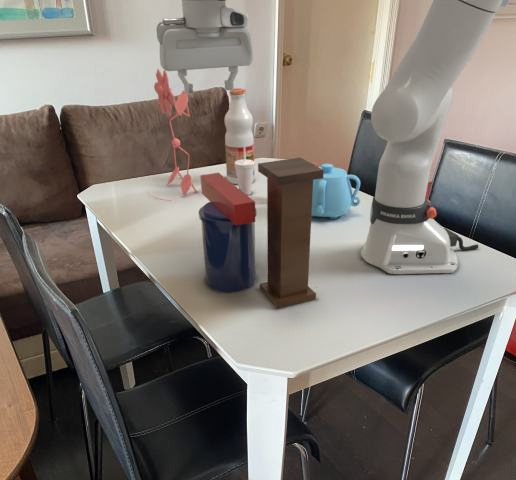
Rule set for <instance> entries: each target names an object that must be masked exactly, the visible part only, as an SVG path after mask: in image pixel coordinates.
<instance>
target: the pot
mask: <svg viewBox="0 0 516 480" xmlns="http://www.w3.org/2000/svg"><path fill="white" fill-rule="evenodd" d="M256 217H257V208H256V207H255V218H256ZM198 219H199V221H201V222H200V223H201V235H202V246H203V247H202V248H203V257H204V258H203V259H204V270H205V282H206V285H207V286H208V287H209V288H211V289H213V290H214V291H218V292H223V293H237V292H241V291H244V290H248V289H249V288H252V286H254V285H255V283H256V281H257V277H256V275H257V272H256V270H257V269H256V221H255V222H252V223H246V224H241V225H234V224H233V223H232V222H231V221H230V220H229V219H228V218H227V217H226V216H225V215H224V214H223V213H222V212H221V211H220V210H219V209H218V208H217V207H215V206H214V205H213V204H212V203H211V202H210V201H208V202H207V203H205V204H204V205H202V207H200V208H199V210H198Z"/></svg>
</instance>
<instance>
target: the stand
mask: <svg viewBox="0 0 516 480" xmlns="http://www.w3.org/2000/svg"><path fill="white" fill-rule="evenodd" d="M313 164H314V163H312V162H310V161H308V160H306V159H304V158H302V157H294V158H286V159H280V160H279V159H278V160H272V161H266V162H258V163H257V172H258V173H260V174H261V175H262V176H264V177H266V182H267V183H266V188H267V189H266V190H267V191H266V193H267V194H266V196H267V197H266V200H267V201H266V202H267V204H266V206H267V209H266V211H267V212H266V213H267V214H266V218H267V219H266V220H267V221H266V224H267V227H266V228H267V230H266V232H267V233H266V235H267V237H266V238H267V245H266V246H267V252H266V253H267V254H266V255H267V258H266V259H267V281H265V282H260V283H259V291H260V292H261V293H262V294H263V295H264V297H266V298H267V300H268V301H269V302H270V303H271V304H272V305H273V306H274V307H275V308H276V309H277V310H279V309H283V308H287V307H291V306H295V305H299V304H304V303H307V302H312V301H315V300H316V299H317V292H315V291H314V290H313V289H312V288H311V287H310V286H309V275H310V273H309V270H310V254H311V253H310V251H311V235H312V234H311V233H312V232H311V230H312V217H311V215H312V195H313V180H315V179H321V178H323V173H324V170H323V169H321V168H319V167H320V166H318V165H317V166H318V167H317V166H315V165H313Z"/></svg>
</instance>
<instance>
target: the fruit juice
mask: <svg viewBox="0 0 516 480" xmlns="http://www.w3.org/2000/svg"><path fill="white" fill-rule="evenodd" d="M246 91H247V90H246V89H245V88H233V90H229V95H230V103H229V108H228V110H227V112H226V114H225V115H224V126H225V130H226V132H225V135H224V148H225V167H226V168H225V169H226V179H227V180H228V181H230V182H231V183H232V184H233V185H238V179H237V173H236V167H235V166H234V165H235V161H237V160H243V159H244V147H245V152H246V159H247V160H253V161H254V162H255V137H254V133H253V125H254V117H253V115H252V113H251V111H250V110H249V108H248V105H247V103H246V96H247V95H246V94H247V92H246ZM255 175H256V174H255V170H254V171H253V181H252V183H253V182H254V181H255V177H256V176H255ZM238 186H239V185H238Z"/></svg>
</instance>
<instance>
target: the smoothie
mask: <svg viewBox="0 0 516 480" xmlns="http://www.w3.org/2000/svg"><path fill="white" fill-rule="evenodd" d="M234 166H235V167H236V173H237V179H238V189H240V190H241V191H242V192H243V193H245V194H246V195H247V196H249V195H252V190H253V182H254V181H253V171H254V172H255V166H256V162H255V160H254V161H253V160H247V159H246V152H245V147H244V159H243V160H237V161H235V165H234ZM252 181H253V182H252Z"/></svg>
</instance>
